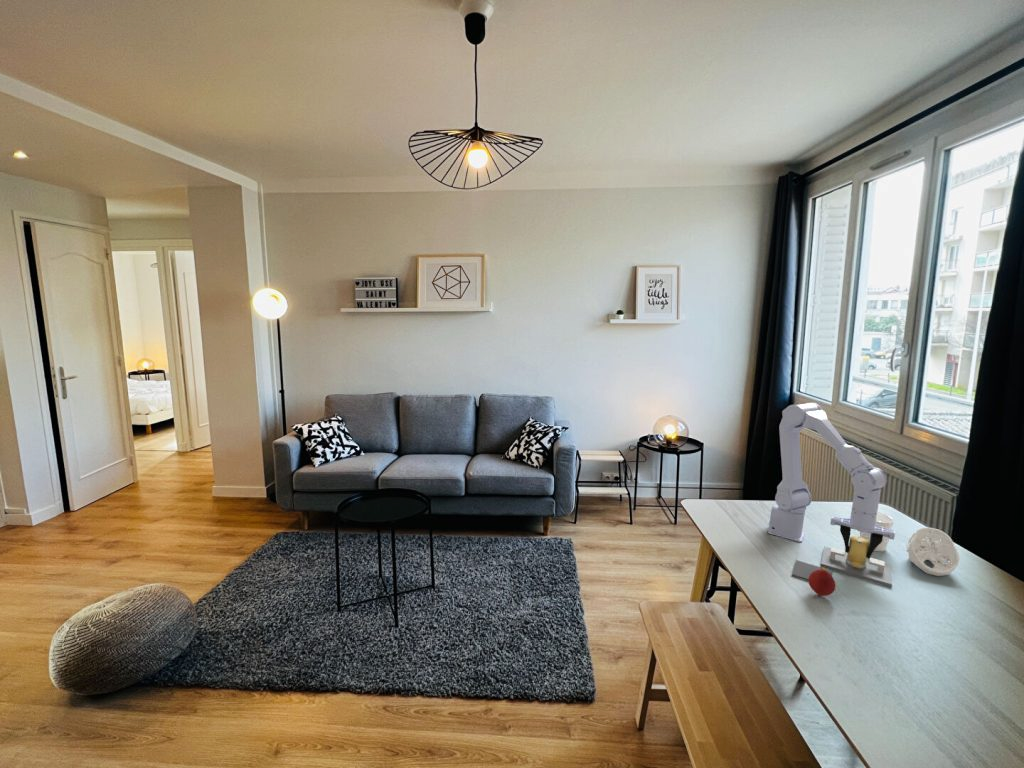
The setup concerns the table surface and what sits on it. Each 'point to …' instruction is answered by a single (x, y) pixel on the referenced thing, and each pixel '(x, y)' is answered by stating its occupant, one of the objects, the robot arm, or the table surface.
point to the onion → (822, 582)
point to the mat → (805, 570)
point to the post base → (869, 571)
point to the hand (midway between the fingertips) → (857, 553)
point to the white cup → (883, 522)
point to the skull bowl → (933, 551)
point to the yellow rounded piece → (858, 551)
